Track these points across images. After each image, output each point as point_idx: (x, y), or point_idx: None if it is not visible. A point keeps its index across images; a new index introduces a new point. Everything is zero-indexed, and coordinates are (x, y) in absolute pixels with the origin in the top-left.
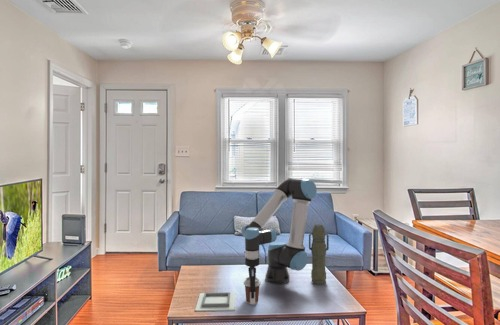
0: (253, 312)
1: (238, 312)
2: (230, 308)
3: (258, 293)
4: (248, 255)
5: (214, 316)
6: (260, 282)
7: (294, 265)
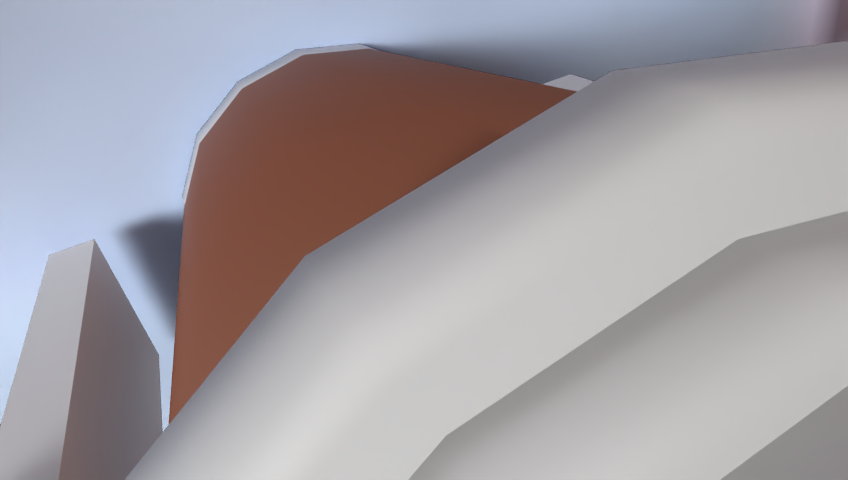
0: (768, 35)
1: None
2: None
3: (479, 71)
4: None
5: None
6: (827, 106)
7: None
